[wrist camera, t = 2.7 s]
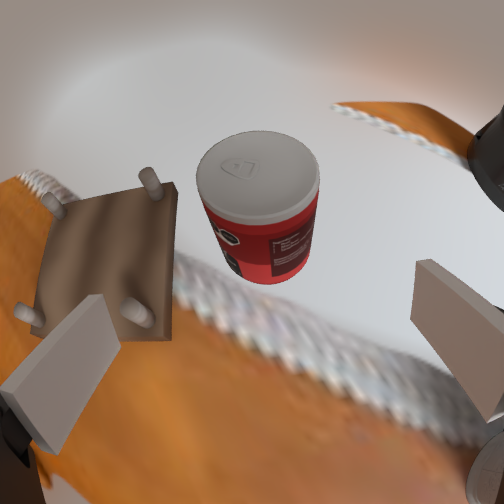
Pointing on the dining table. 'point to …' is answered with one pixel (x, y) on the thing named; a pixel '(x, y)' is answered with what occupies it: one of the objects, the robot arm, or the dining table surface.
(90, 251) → the peg board
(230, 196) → the canned food
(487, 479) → the grey mug
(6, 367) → the dining table surface
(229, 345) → the dining table surface
